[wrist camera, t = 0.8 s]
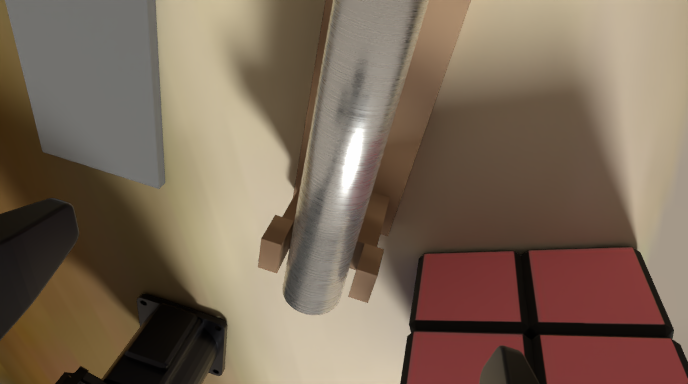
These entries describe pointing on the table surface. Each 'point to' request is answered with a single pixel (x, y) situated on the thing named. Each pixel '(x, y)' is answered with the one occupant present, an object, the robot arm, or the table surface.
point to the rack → (399, 151)
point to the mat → (94, 82)
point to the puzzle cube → (541, 318)
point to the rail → (347, 142)
